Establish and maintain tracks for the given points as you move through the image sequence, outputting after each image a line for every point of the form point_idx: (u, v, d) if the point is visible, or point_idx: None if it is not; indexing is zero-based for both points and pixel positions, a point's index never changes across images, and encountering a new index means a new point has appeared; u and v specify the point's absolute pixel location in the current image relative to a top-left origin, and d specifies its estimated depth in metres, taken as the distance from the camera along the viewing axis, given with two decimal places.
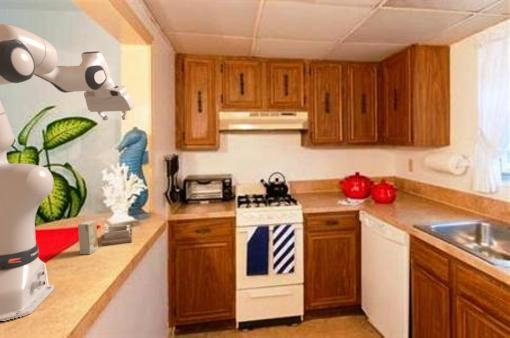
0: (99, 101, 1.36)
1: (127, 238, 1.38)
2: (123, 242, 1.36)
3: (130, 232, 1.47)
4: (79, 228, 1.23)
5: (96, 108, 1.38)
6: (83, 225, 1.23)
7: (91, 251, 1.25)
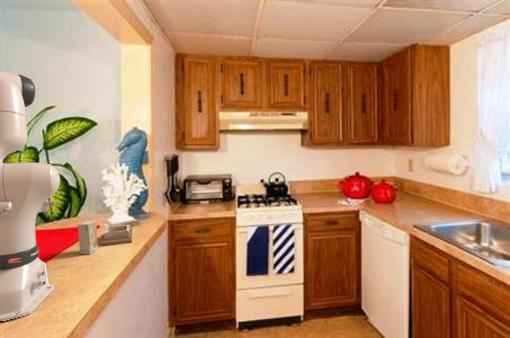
0: None
1: (127, 238, 1.38)
2: (123, 242, 1.36)
3: (130, 232, 1.47)
4: (79, 228, 1.23)
5: None
6: (83, 225, 1.23)
7: (91, 251, 1.25)
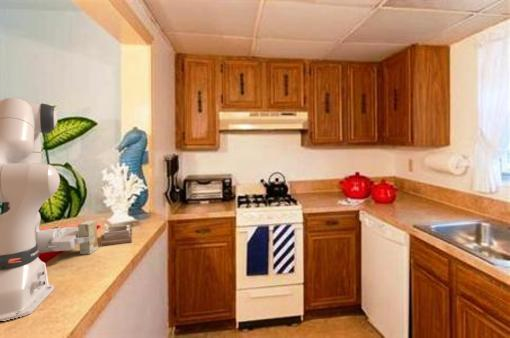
0: (61, 237, 1.20)
1: (127, 238, 1.38)
2: (123, 242, 1.36)
3: (130, 232, 1.47)
4: (79, 228, 1.23)
5: (70, 237, 1.19)
6: (83, 225, 1.23)
7: (91, 251, 1.25)
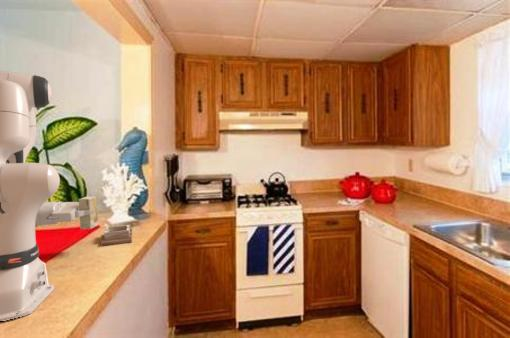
0: (61, 210, 1.20)
1: (127, 238, 1.38)
2: (123, 242, 1.36)
3: (130, 232, 1.47)
4: (80, 203, 1.23)
5: (70, 209, 1.19)
6: (84, 200, 1.23)
7: (92, 226, 1.25)
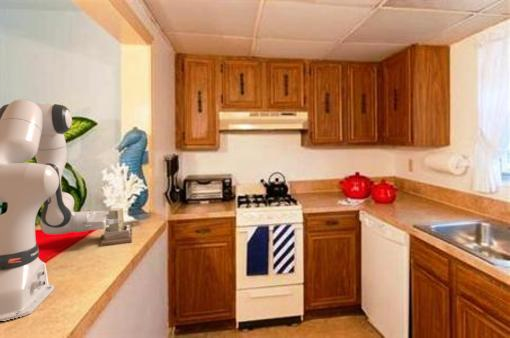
0: (94, 218, 1.36)
1: (127, 238, 1.38)
2: (123, 242, 1.36)
3: (130, 232, 1.47)
4: (109, 214, 1.40)
5: (102, 218, 1.35)
6: (113, 211, 1.40)
7: None
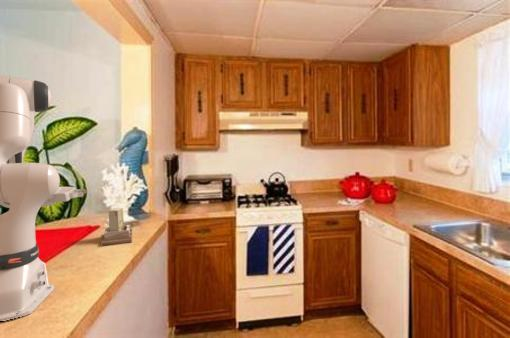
0: (57, 192, 1.30)
1: (127, 238, 1.38)
2: (123, 242, 1.36)
3: (130, 232, 1.47)
4: (109, 214, 1.40)
5: (65, 191, 1.29)
6: (113, 211, 1.40)
7: None
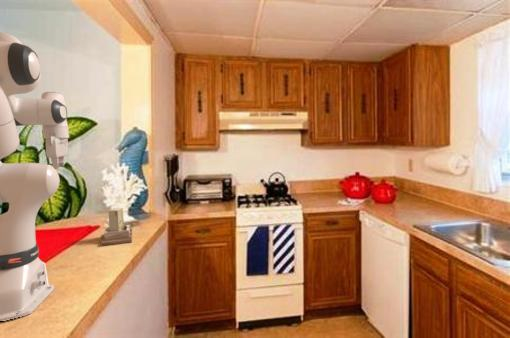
0: (59, 144, 1.24)
1: (127, 238, 1.38)
2: (123, 242, 1.36)
3: (130, 232, 1.47)
4: (109, 214, 1.40)
5: (59, 153, 1.22)
6: (113, 211, 1.40)
7: None
